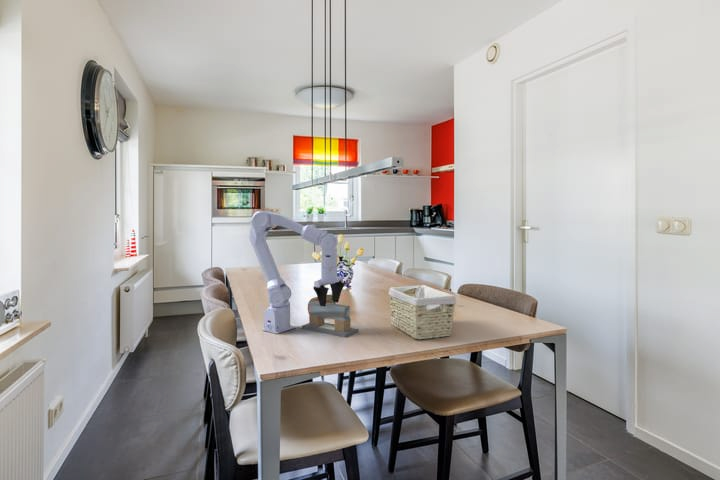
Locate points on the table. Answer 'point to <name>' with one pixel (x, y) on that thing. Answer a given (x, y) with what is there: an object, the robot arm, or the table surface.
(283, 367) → the table surface
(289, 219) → the robot arm
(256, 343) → the table surface
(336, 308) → the beam
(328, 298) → the tin
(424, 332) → the storage basket
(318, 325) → the gate base
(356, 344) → the table surface
